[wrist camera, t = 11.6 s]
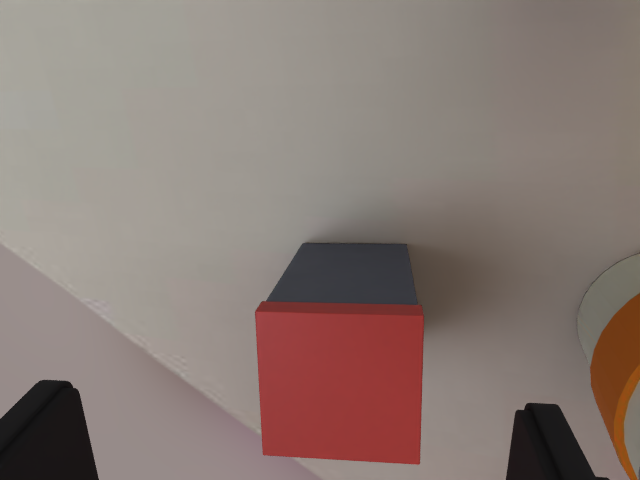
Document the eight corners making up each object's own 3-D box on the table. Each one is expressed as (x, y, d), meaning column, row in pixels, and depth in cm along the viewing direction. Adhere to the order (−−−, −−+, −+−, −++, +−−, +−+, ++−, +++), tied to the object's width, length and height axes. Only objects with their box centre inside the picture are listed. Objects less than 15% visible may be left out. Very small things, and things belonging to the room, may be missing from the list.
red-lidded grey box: (409, 243, 31) (407, 345, 32) (299, 242, 32) (302, 341, 33) (424, 315, 20) (420, 465, 21) (254, 311, 20) (262, 455, 22)
